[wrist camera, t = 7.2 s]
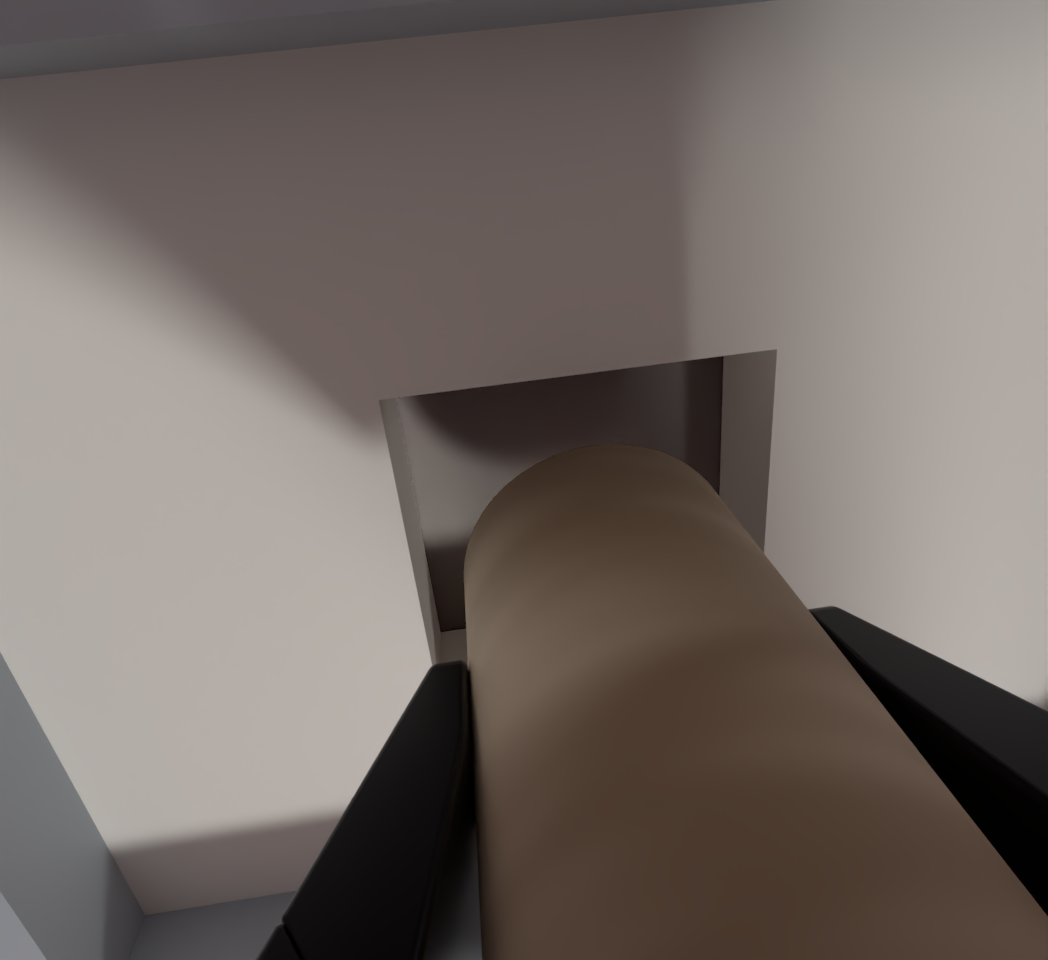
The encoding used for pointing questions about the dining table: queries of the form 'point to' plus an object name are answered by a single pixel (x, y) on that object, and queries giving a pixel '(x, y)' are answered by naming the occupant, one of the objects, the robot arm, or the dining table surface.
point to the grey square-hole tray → (463, 372)
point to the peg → (694, 747)
